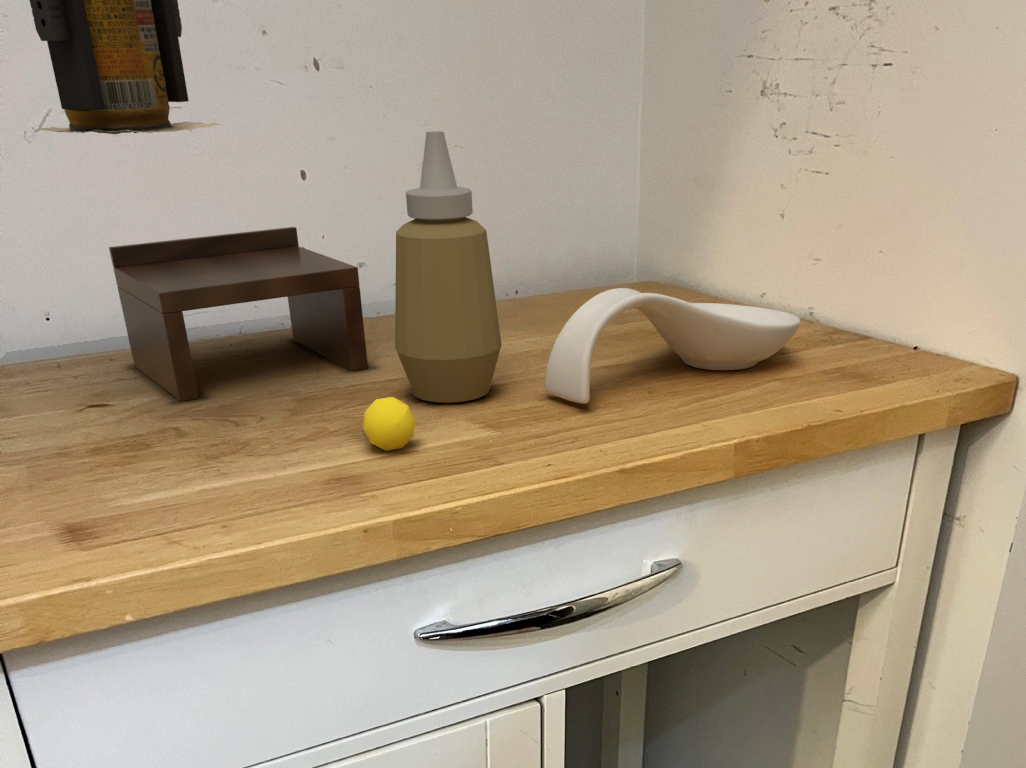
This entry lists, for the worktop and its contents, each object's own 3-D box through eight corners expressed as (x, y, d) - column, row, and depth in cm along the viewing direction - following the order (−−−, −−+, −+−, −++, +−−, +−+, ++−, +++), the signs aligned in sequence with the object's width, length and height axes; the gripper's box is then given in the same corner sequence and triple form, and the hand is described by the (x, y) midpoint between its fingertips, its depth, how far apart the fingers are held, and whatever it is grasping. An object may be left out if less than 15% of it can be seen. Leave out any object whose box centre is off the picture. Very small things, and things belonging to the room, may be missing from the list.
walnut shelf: (180, 401, 84) (154, 271, 79) (134, 365, 94) (108, 247, 89) (368, 368, 92) (356, 246, 86) (308, 338, 101) (294, 226, 96)
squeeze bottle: (418, 415, 80) (395, 139, 70) (386, 387, 86) (362, 130, 77) (519, 400, 83) (511, 132, 73) (481, 374, 89) (469, 124, 79)
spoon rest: (718, 337, 98) (724, 251, 94) (825, 361, 91) (836, 269, 87) (515, 388, 85) (512, 292, 82) (619, 422, 78) (621, 318, 74)
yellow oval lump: (388, 460, 72) (362, 409, 70) (362, 459, 77) (338, 412, 76) (430, 436, 73) (406, 386, 71) (402, 437, 78) (379, 390, 77)
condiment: (123, 124, 70) (78, -109, 64) (225, 127, 67) (188, -118, 61) (33, 134, 65) (-27, -119, 58) (138, 138, 62) (87, -130, 55)
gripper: (-106, -528, 44) (43, 119, 57) (217, -401, 58) (279, 96, 71) (-217, -491, 47) (-52, 115, 60) (115, -378, 61) (192, 94, 74)
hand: (127, 104), depth 65 cm, fingers closed on condiment, 6 cm apart
